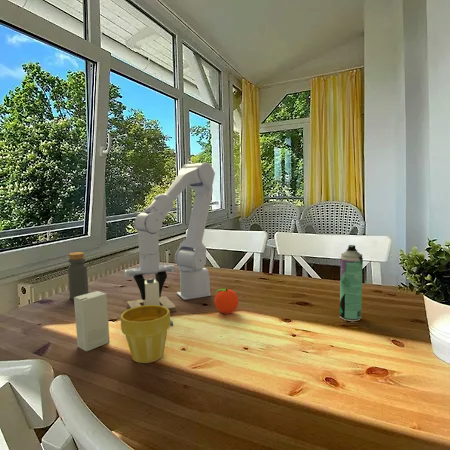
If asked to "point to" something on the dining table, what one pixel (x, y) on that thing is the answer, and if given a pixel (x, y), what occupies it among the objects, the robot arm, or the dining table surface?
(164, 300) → the holder
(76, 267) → the bottle
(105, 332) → the skincare box
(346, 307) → the spray can
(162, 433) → the dining table surface
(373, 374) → the dining table surface
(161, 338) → the plant pot
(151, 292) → the plug
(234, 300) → the clementine
